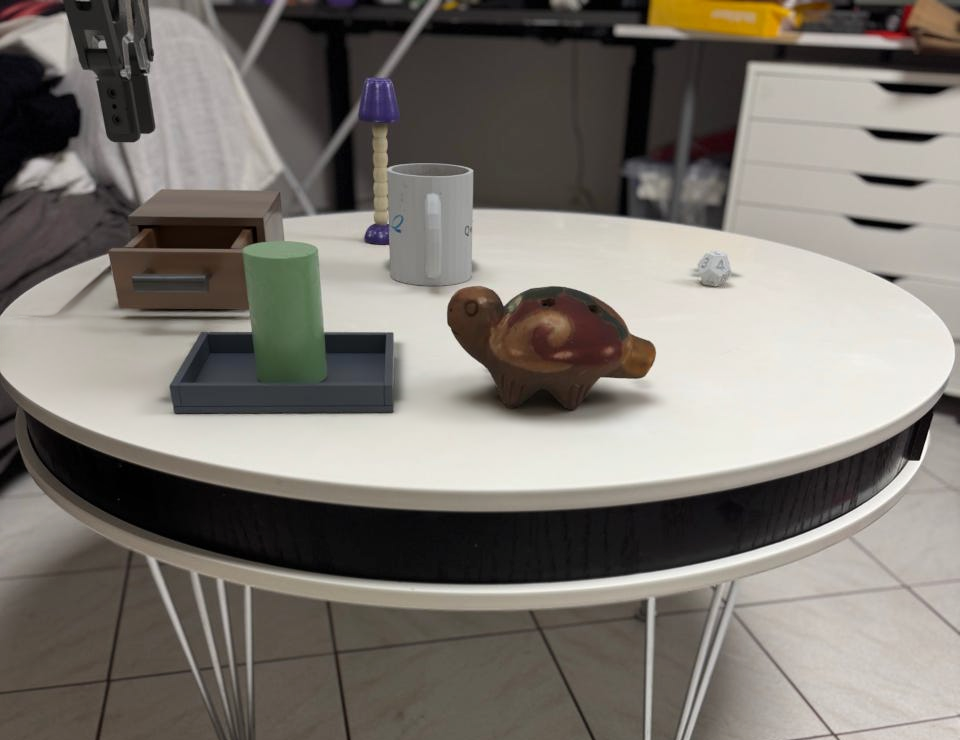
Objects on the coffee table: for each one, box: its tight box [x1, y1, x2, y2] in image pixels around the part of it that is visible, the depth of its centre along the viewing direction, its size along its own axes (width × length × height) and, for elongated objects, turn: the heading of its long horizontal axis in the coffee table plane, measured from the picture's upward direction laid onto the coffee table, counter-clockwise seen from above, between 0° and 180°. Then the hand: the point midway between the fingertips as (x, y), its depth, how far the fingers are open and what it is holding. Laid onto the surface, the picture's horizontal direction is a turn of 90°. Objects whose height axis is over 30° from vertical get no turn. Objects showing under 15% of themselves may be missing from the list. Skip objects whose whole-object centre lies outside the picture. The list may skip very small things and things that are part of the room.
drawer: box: [107, 225, 257, 310], centre depth 83 cm, size 18×11×5 cm, turn 4°
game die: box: [697, 250, 733, 288], centre depth 95 cm, size 4×4×3 cm
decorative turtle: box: [446, 285, 657, 411], centre depth 65 cm, size 10×15×8 cm, turn 98°
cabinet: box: [127, 188, 286, 243], centre depth 93 cm, size 15×13×7 cm
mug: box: [387, 162, 474, 287], centre depth 92 cm, size 12×9×10 cm
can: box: [242, 240, 327, 383], centre depth 66 cm, size 5×5×9 cm
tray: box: [169, 331, 395, 414], centre depth 68 cm, size 15×12×2 cm
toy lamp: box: [357, 77, 401, 245], centre depth 104 cm, size 5×5×17 cm
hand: (132, 135), depth 66 cm, fingers open, 4 cm apart
